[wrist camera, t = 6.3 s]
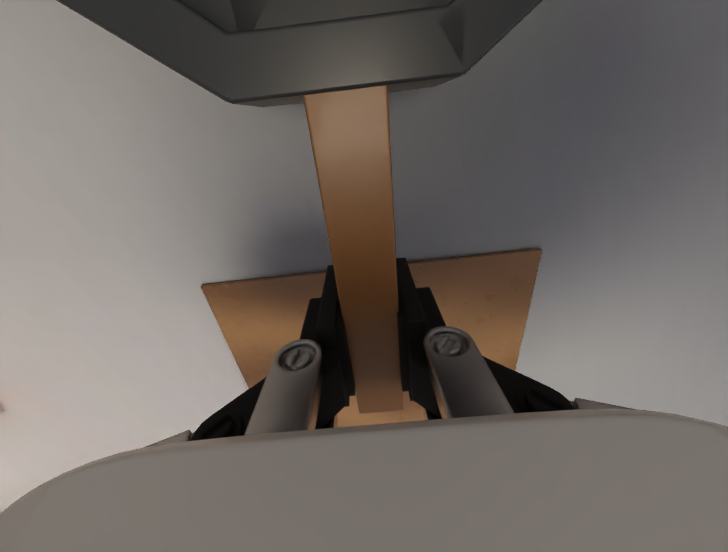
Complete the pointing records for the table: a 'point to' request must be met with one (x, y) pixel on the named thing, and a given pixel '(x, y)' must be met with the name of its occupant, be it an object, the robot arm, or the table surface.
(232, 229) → the table surface
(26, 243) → the table surface
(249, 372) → the brown wooden board
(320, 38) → the saucepan
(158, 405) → the table surface
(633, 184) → the table surface
